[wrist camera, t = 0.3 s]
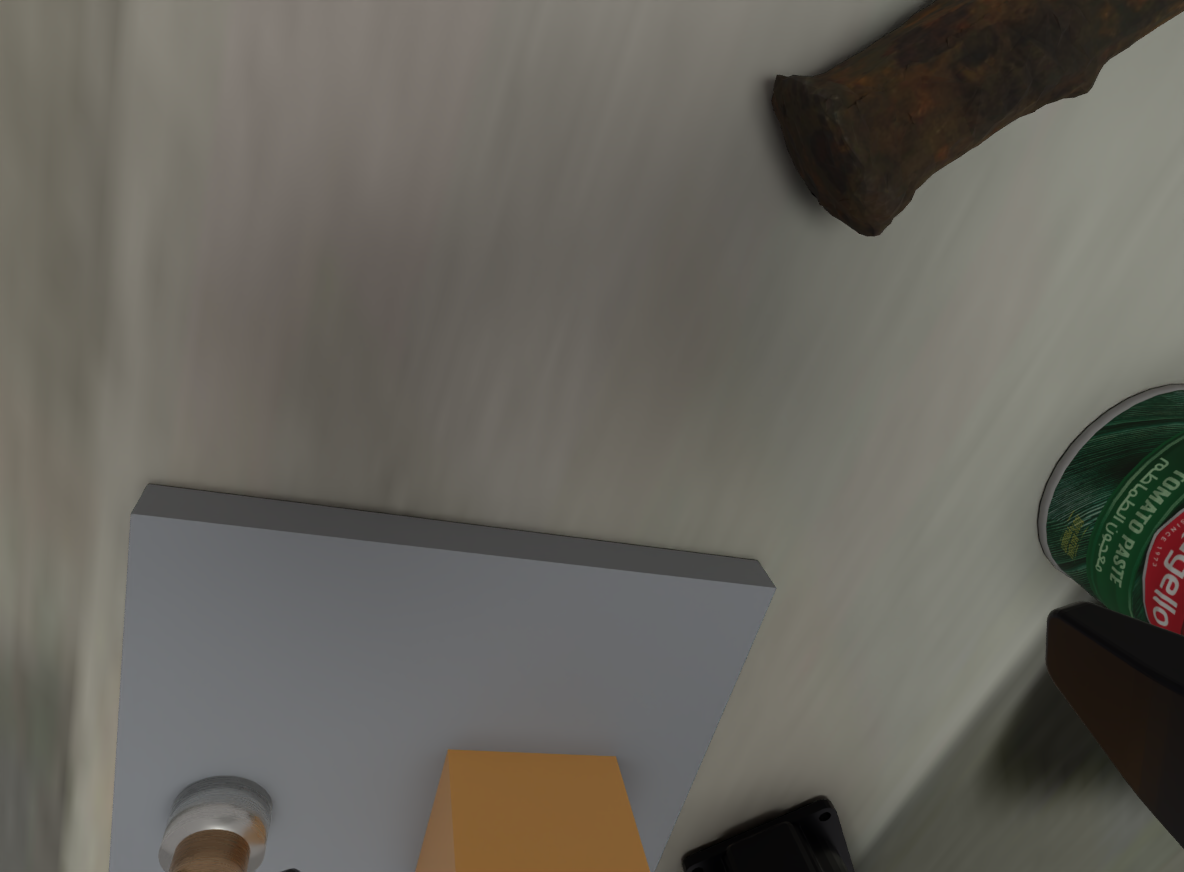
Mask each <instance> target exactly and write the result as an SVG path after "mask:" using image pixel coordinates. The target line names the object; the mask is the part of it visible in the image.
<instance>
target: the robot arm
mask: <svg viewBox="0 0 1184 872" xmlns="http://www.w3.org/2000/svg"><path fill="white" fill-rule="evenodd" d="M1045 660H1046V666H1047V670H1048V672H1049V675H1050V677H1051V679H1052V680H1053V682H1054V683H1055V685H1056V686H1057V688H1058V689H1059V690H1060V692H1061V693H1062V694H1063V696H1064V697H1065V698H1066V700H1067V701H1068V703H1069V704H1070V705H1071V707H1072V708H1073V709H1074V711H1075V712H1076V713H1077V715H1078V716H1079V718H1080V719H1081V720H1082V722H1083V723H1084V724H1085V726H1086V727H1087V729H1088V730H1089V731H1090V733H1091V734H1092V735H1093V737H1094V738H1095V739H1096V741H1097V742H1098V744H1099V745H1100V746H1101V748H1102V749H1103V750H1104V752H1105V753H1106V754H1107V756H1108V757H1109V759H1110V760H1111V761H1112V763H1113V764H1114V765H1115V767H1116V768H1117V770H1118V771H1119V772H1120V774H1121V775H1122V776H1123V778H1124V779H1125V780H1126V782H1127V783H1128V784H1129V785H1130V787H1131V788H1132V789H1133V791H1134V792H1135V793H1136V794H1137V796H1138V797H1139V798H1140V799H1141V801H1142V802H1143V803H1144V804H1145V805H1146V806H1147V808H1148V809H1149V810H1150V811H1151V812H1152V813H1153V815H1154V816H1155V817H1156V818H1157V819H1158V820H1159V821H1160V823H1161V824H1162V825H1163V826H1164V827H1165V828H1166V829H1167V830H1168V832H1169V833H1170V834H1171V835H1172V836H1173V837H1174V838H1175V839H1176V841H1177V842H1178V843H1179V844H1180V845H1181V846H1182V847H1183V848H1184V636H1183V635H1180V634H1178V633H1175V632H1172V631H1169V630H1166V629H1164V628H1161V627H1158V626H1155V625H1152V624H1150V623H1147V622H1144V621H1141V620H1138V619H1136V618H1133V617H1130V616H1127V615H1124V614H1122V613H1119V612H1116V611H1113V610H1110V609H1108V608H1105V607H1102V606H1099V605H1096V604H1094V603H1090V602H1085V601H1079V602H1075V603H1072V604H1069V605H1066V606H1063V607H1060V608H1057V609H1054V610H1053V611H1051V612H1050V614H1049V616H1048V618H1047V632H1046V657H1045ZM682 868H683V871H684V872H854V869H853V865H852V862H851V859H850V855H849V852H848V849H847V845H846V842H845V838H844V835H843V832H842V828H841V825H840V822H839V818H838V815H837V812H836V810H835V808H834V806H833V805H832V803H831V801H829V800H824V799H823V800H819V801H816V802H814V803H812V804H809V805H807V806H805V807H803V808H800V809H798V810H796V811H793V812H791V813H789V814H786V815H784V816H782V817H779V818H777V819H775V820H772V821H770V822H768V823H765V824H763V825H761V826H758V827H756V828H754V829H751V830H749V831H747V832H744V833H742V834H740V835H738V836H735V837H733V838H731V839H728V840H726V841H724V842H721V843H719V844H717V845H714V846H712V847H710V848H707V849H705V850H703V851H700V852H698V853H696V854H693V855H691V856H689V857H688V858H686V859H685V860H684V861H683V864H682ZM281 872H300V871H299V870H298V869H295V868H290V869H287V870H284V871H281Z"/></svg>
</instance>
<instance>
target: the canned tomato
mask: <svg viewBox="0 0 1184 872" xmlns="http://www.w3.org/2000/svg"><path fill="white" fill-rule="evenodd" d="M1038 527H1039V539H1040V542H1041V545H1042V547H1043V550H1044V553H1045V555H1046V556H1047V557H1048V559H1049V560H1050V561H1051V563H1052V564H1053V565H1054V566H1055V567H1056V568H1057V569H1058V570H1060V571H1061V572H1062V573H1064V574H1065V575H1067V576H1068V577H1070V578H1072V579H1073V580H1075V581H1076V582H1077V583H1078V584H1079V585H1081V586H1082V587H1083V588H1084V589H1085V590H1086V591H1087V592H1088V593H1089V594H1091V595H1092V596H1093V597H1094V598H1095V599H1097V600H1098V601H1100V602H1101V603H1102V604H1104V605H1105V606H1106V607H1107V608H1108V609H1110V610H1113V611H1116V612H1119V613H1122V614H1124V615H1127V616H1130V617H1133V618H1136V619H1138V620H1141V621H1144V622H1147V623H1150V624H1152V625H1155V626H1158V627H1161V628H1164V629H1166V630H1169V631H1172V632H1175V633H1178V634H1180V635H1183V636H1184V384H1181V385H1167V386H1163V387H1159V388H1155V389H1151V390H1148V391H1145V392H1143V393H1141V394H1138V395H1136V396H1134V397H1131V398H1129V399H1127V400H1125V401H1123V402H1122V403H1120V404H1119V405H1117V406H1115V407H1114V408H1112V409H1110V410H1109V411H1107V412H1106V413H1105V414H1103V415H1102V416H1101V417H1100V418H1098V419H1097V420H1096V421H1095V422H1094V423H1092V424H1091V425H1090V426H1089V427H1087V429H1086V430H1085V431H1084V432H1083V433H1082V434H1081V435H1080V436H1079V437H1078V438H1077V439H1076V440H1075V441H1074V442H1073V443H1072V444H1071V446H1070V447H1069V449H1068V450H1067V451H1066V453H1065V454H1064V456H1063V457H1062V458H1061V460H1060V461H1059V462H1058V464H1057V466H1056V468H1055V470H1054V472H1053V473H1052V475H1051V477H1050V479H1049V481H1048V483H1047V486H1046V489H1045V492H1044V495H1043V498H1042V501H1041V505H1040V512H1039V520H1038Z"/></svg>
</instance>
